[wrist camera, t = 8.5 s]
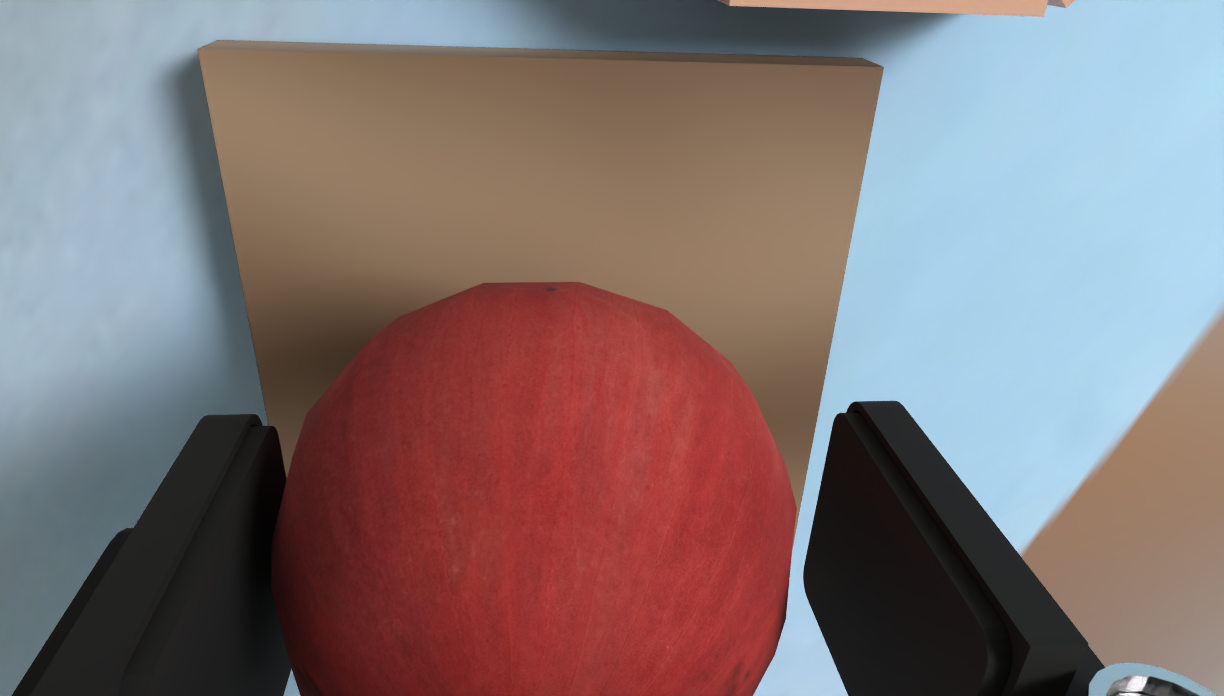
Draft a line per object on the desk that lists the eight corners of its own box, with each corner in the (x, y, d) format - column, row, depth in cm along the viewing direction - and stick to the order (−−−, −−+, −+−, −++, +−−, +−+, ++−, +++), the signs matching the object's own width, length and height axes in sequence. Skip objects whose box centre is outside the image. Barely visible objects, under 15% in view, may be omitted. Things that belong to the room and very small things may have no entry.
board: (218, 39, 11) (197, 49, 10) (861, 57, 12) (884, 67, 11) (315, 592, 16) (306, 623, 15) (771, 571, 17) (782, 601, 16)
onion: (648, 555, 15) (729, 1141, 8) (325, 475, 13) (61, 1080, 6) (786, 269, 12) (1097, 731, 5) (409, 142, 11) (136, 513, 4)
